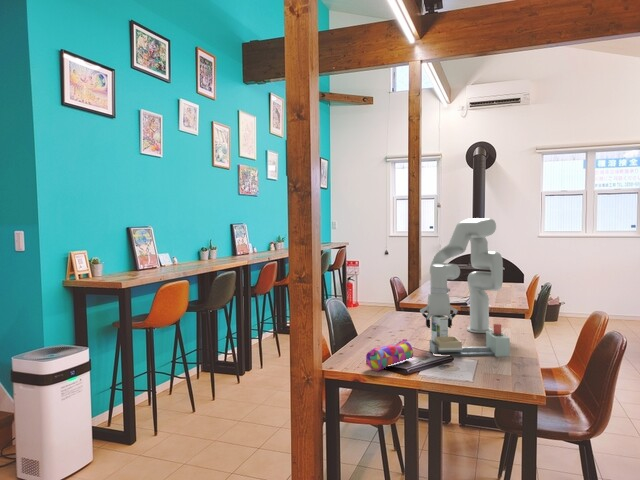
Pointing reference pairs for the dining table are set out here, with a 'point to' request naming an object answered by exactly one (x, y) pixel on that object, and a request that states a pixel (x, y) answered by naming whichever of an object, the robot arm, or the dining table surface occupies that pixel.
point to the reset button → (497, 329)
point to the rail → (464, 351)
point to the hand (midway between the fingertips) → (438, 327)
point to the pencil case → (389, 355)
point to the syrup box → (439, 327)
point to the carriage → (448, 344)
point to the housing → (498, 343)
